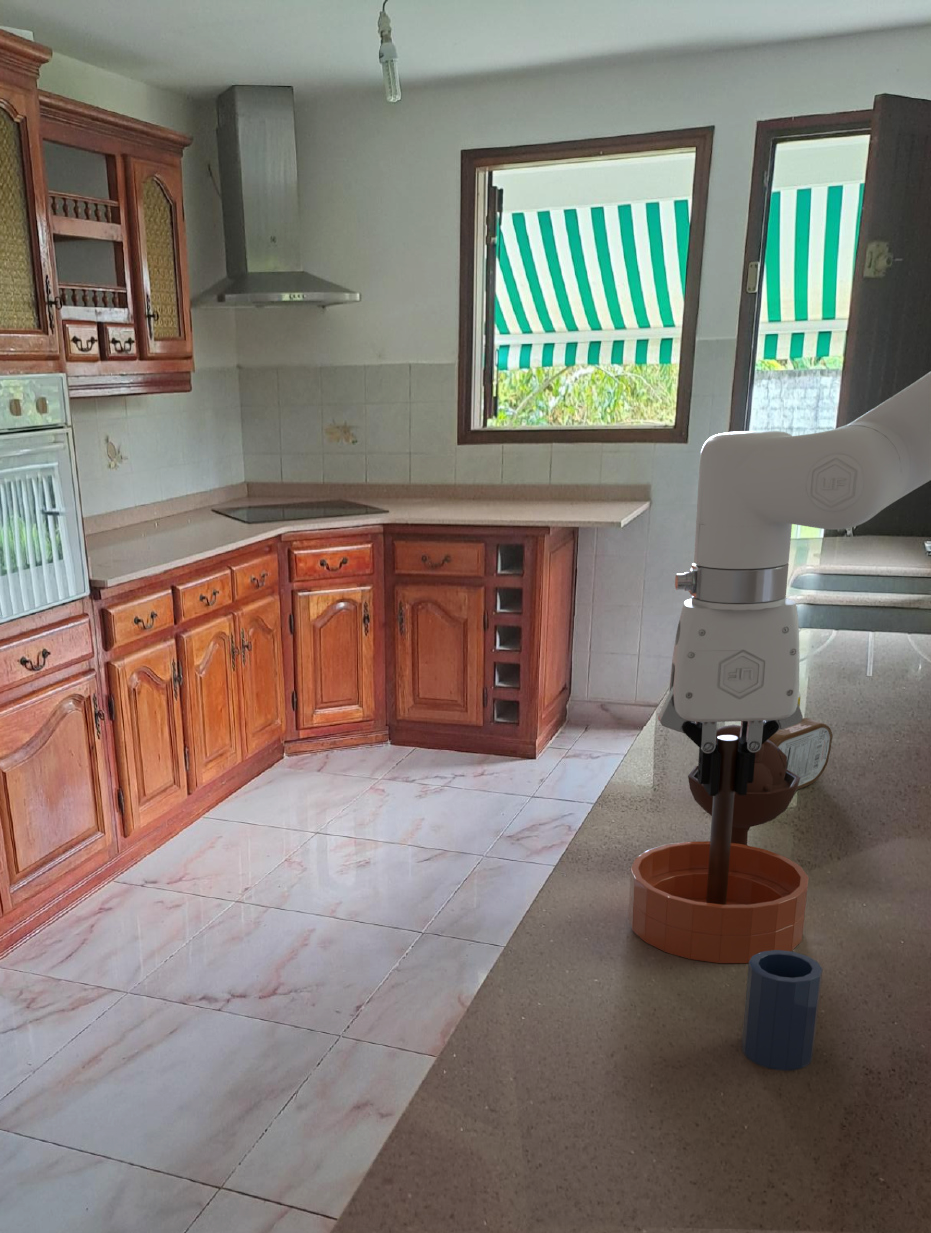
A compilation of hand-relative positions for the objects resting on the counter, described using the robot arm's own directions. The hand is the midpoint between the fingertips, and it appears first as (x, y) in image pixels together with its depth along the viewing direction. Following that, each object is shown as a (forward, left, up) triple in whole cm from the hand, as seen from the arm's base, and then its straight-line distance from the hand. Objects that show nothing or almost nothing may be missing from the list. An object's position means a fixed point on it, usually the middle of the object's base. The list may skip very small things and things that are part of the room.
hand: (724, 789), depth 104 cm
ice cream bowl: (-6, -17, -14) cm, 23 cm away
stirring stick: (0, 0, -13) cm, 13 cm away
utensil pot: (0, +22, -14) cm, 26 cm away
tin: (-17, -39, -14) cm, 45 cm away
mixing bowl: (0, 0, -14) cm, 14 cm away
